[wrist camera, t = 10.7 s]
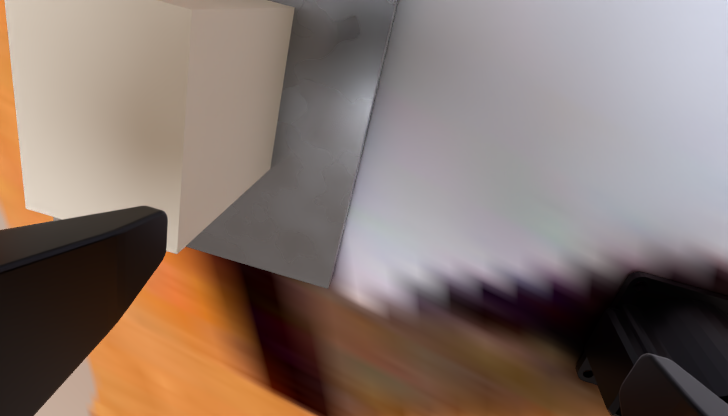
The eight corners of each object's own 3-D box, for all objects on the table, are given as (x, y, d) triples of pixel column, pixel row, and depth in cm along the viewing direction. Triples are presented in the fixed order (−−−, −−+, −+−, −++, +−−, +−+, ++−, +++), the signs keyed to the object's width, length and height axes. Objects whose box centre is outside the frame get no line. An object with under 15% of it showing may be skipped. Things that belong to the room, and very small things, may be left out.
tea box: (294, 7, 18) (191, 9, 11) (270, 169, 21) (177, 254, 14) (173, -25, 18) (-5, -44, 11) (166, 139, 21) (21, 207, 14)
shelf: (475, -325, 14) (481, -408, 11) (331, 280, 24) (315, 317, 21) (73, -409, 15) (-17, -508, 12) (94, 209, 25) (47, 236, 22)
